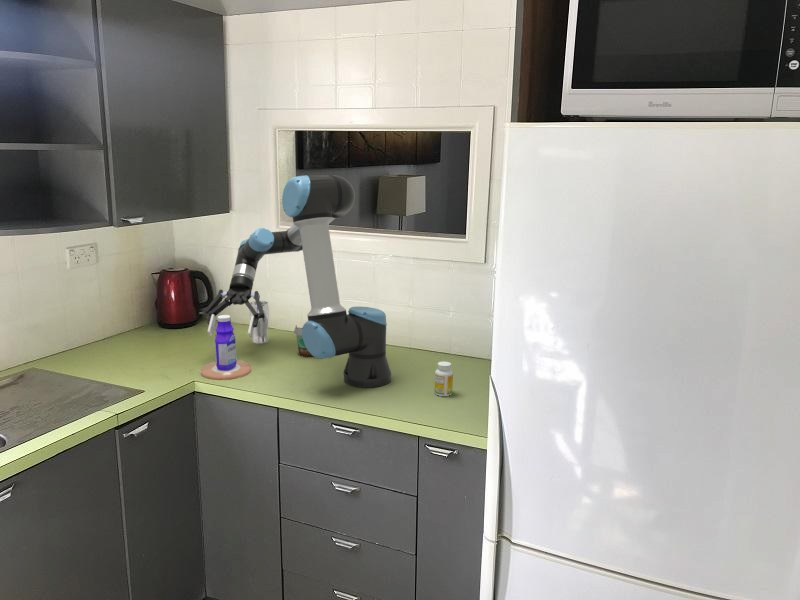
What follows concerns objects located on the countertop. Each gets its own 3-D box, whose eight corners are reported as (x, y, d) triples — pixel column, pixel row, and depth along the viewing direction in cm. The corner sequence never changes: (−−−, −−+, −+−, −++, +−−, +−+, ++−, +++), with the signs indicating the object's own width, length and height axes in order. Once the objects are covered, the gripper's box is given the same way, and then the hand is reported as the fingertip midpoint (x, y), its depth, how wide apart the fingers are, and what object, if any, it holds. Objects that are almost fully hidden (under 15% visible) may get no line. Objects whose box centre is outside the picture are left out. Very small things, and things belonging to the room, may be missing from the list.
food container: (289, 357, 228) (288, 329, 225) (295, 351, 234) (294, 324, 231) (323, 359, 226) (323, 332, 223) (328, 354, 231) (328, 327, 229)
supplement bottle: (436, 397, 194) (437, 366, 192) (432, 390, 199) (433, 361, 197) (454, 396, 195) (455, 366, 193) (449, 390, 200) (450, 360, 198)
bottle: (229, 372, 209) (227, 319, 205) (213, 370, 210) (210, 318, 206) (239, 364, 216) (237, 313, 212) (223, 363, 217) (221, 312, 213)
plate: (261, 367, 217) (261, 364, 216) (229, 383, 203) (229, 379, 202) (223, 360, 223) (223, 357, 223) (189, 374, 209) (189, 371, 209)
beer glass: (257, 345, 240) (255, 306, 236) (247, 341, 245) (245, 302, 241) (273, 342, 244) (272, 303, 241) (263, 337, 249) (262, 299, 246)
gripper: (280, 287, 229) (269, 341, 218) (210, 284, 231) (196, 337, 220) (275, 275, 222) (264, 330, 212) (204, 273, 225) (189, 327, 214)
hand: (229, 334), depth 216 cm, fingers open, 13 cm apart
